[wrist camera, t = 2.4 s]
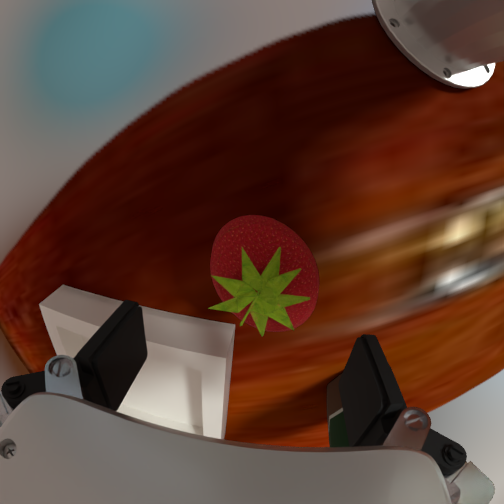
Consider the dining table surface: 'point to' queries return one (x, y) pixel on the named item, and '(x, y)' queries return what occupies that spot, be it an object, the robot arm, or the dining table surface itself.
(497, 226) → the dining table surface
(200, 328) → the tray
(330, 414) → the beer bottle
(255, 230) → the strawberry
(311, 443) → the dining table surface
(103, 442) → the robot arm
